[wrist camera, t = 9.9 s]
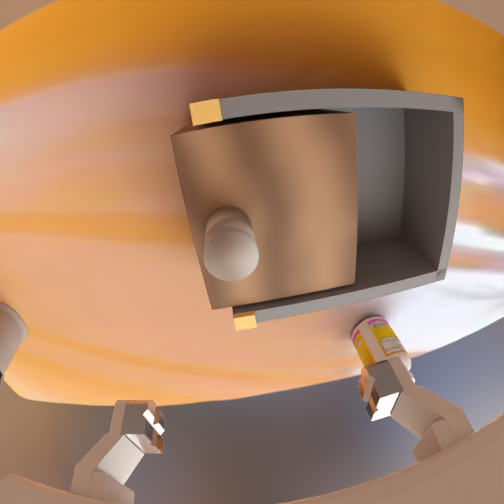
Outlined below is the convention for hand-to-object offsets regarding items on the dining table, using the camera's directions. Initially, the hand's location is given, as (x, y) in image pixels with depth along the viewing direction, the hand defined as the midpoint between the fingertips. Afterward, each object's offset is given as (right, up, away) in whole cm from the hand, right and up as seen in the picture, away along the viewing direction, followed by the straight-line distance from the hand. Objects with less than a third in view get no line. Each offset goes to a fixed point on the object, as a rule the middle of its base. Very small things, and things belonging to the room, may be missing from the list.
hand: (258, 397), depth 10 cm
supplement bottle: (+19, -7, +35) cm, 41 cm away
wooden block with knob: (+1, +12, +21) cm, 24 cm away
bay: (+8, +14, +22) cm, 27 cm away
